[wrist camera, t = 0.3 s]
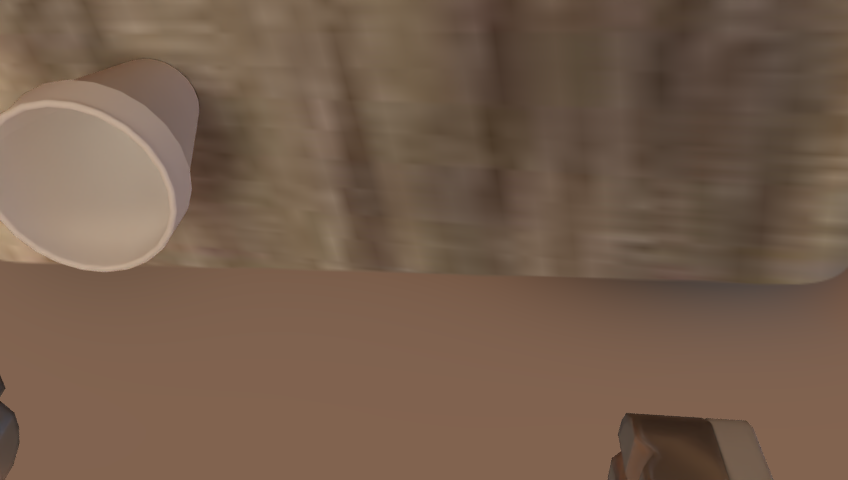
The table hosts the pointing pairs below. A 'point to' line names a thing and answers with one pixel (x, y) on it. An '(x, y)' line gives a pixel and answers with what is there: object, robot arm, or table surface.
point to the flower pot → (99, 165)
